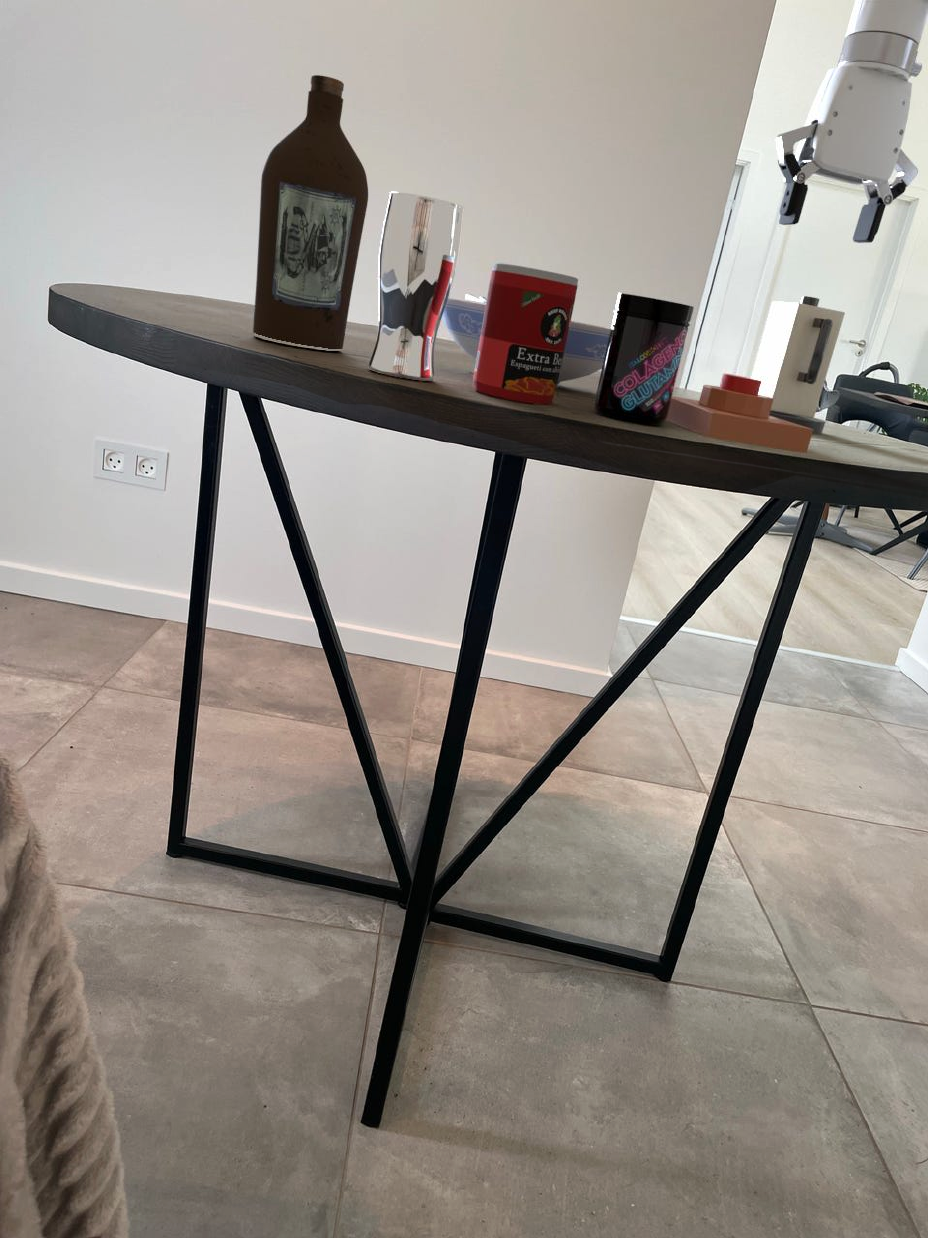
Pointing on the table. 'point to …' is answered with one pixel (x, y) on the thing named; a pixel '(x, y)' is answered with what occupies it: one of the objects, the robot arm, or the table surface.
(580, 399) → the table surface
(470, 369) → the table surface
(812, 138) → the robot arm
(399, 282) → the beer glass
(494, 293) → the canned food
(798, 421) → the kettle base
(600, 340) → the ramen bowl
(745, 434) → the switch block
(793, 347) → the kettle
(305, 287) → the olive oil
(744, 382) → the button
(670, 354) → the supplement container
